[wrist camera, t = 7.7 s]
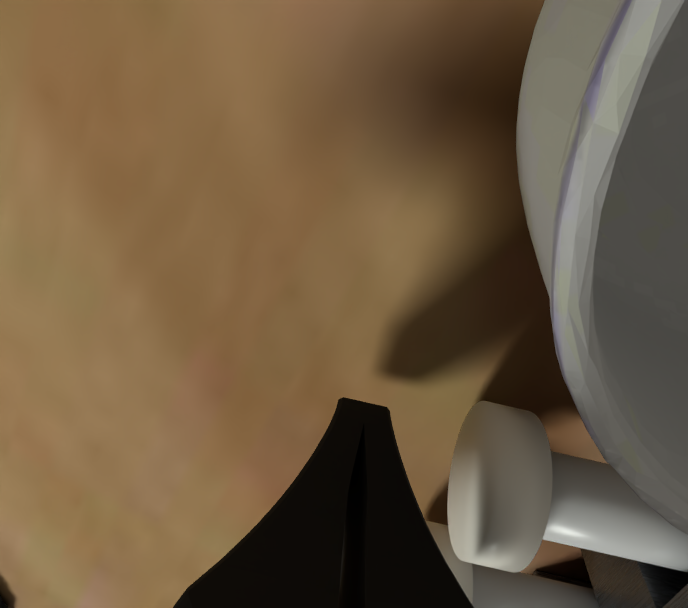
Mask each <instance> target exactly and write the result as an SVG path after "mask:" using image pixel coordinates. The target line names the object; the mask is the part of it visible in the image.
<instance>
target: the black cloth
mask: <svg viewBox="0 0 688 608" xmlns="http://www.w3.org/2000/svg"><path fill="white" fill-rule="evenodd" d="M0 608H8V606H7V605H6V604H5V603H4V602H3V601H2V598H1V595H0Z"/></svg>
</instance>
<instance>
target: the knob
mask: <svg viewBox="0 0 688 608" xmlns="http://www.w3.org/2000/svg"><path fill="white" fill-rule="evenodd" d="M447 515H448V528H449V535H450V540H451V544H452V547H453V550H454V552H455V554H456V556H457V557H458V558H459V559H460V560H461V561H464V562H469V563H473V564H477V565H482V566H486V567H491V568H495V569H499V570H504V571H508V572H512V573H515V572H519V571H522V570H523V569H525V568H526V567H527V566H528V565H529V564H530V562H531V561H532V560H533V558H534V556H535V555H536V553H537V551H538V549H539V547H540V545H541V542H542V539H544V540H548V541H552V542H557V543H561V544H566V545H570V546H574V547H579V548H583V549H587V550H592V551H596V552H600V553H605V554H609V555H614V556H618V557H622V558H627V559H631V560H635V561H640V562H644V563H649V564H653V565H657V566H662V567H666V568H670V569H675V570H679V571H684V572H688V535H687V534H685V533H684V532H682V531H681V530H679V529H677V528H676V527H674V526H672V525H671V524H670V523H669V522H668V521H666V520H665V519H664V518H663V517H662V516H660V515H659V514H658V513H657V512H656V511H654V510H653V509H652V508H651V507H650V506H648V505H647V504H646V503H645V502H644V501H643V500H641V499H640V498H639V497H638V496H637V495H636V494H635V492H634V491H633V490H632V489H631V488H630V487H629V486H628V484H627V483H626V482H625V481H624V480H623V479H622V477H621V476H620V475H619V474H618V473H617V472H616V471H615V469H614V468H613V467H612V466H611V465H610V464H606V463H601V462H597V461H593V460H588V459H584V458H579V457H575V456H571V455H566V454H562V453H558V452H553V451H550V445H549V441H548V437H547V434H546V431H545V429H544V426H543V424H542V422H541V421H540V419H539V418H538V417H537V416H536V415H535V414H534V413H532V412H530V411H527V410H523V409H518V408H514V407H510V406H505V405H501V404H496V403H492V402H488V401H479V402H478V403H476V404H475V405H474V406H473V407H472V408H471V410H470V411H469V413H468V414H467V416H466V418H465V420H464V422H463V424H462V427H461V429H460V432H459V435H458V438H457V442H456V445H455V449H454V454H453V458H452V464H451V469H450V476H449V485H448V502H447Z"/></svg>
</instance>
